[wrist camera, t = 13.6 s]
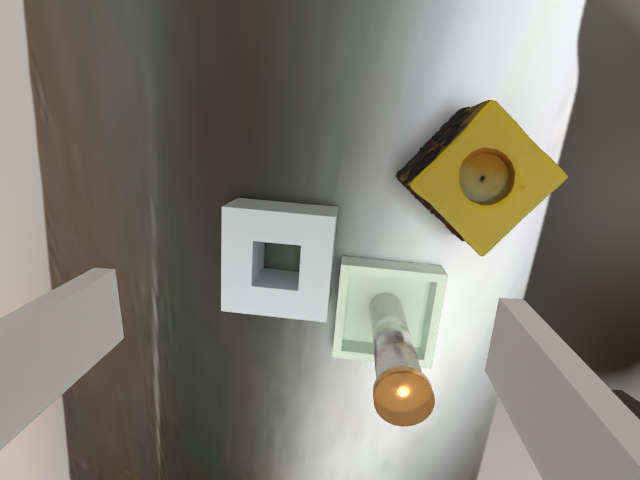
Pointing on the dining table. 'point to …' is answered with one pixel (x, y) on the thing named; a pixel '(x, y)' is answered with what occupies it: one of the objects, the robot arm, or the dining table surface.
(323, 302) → the block
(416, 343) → the tray
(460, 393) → the dining table surface
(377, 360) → the pin
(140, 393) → the dining table surface
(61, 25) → the dining table surface
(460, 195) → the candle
